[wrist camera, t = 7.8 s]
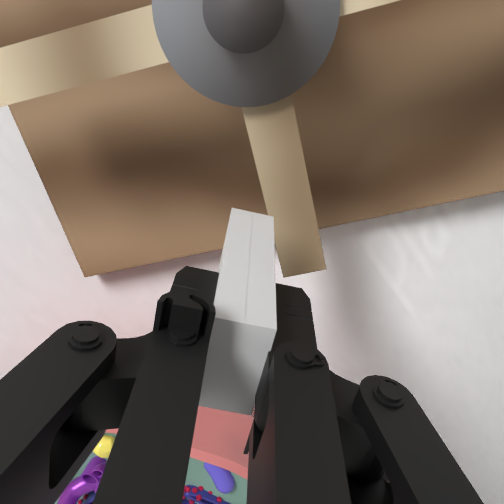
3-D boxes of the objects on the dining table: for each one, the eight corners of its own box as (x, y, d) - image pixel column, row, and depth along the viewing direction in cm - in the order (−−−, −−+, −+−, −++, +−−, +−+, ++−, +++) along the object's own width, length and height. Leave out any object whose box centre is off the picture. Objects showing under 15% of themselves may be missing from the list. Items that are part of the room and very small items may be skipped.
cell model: (87, 257, 27) (-20, 399, 17) (354, 418, 32) (394, 604, 22) (-24, 430, 33) (-151, 609, 23) (213, 543, 38) (192, 734, 28)
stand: (-111, -199, 19) (-207, -255, 15) (536, -437, 15) (622, -585, 12) (92, 267, 27) (63, 306, 24) (530, 175, 24) (578, 204, 20)
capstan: (97, 293, 23) (66, 342, 19) (-148, -257, 15) (-279, -345, 11) (570, 196, 20) (633, 233, 17) (603, -555, 12) (744, -798, 8)
